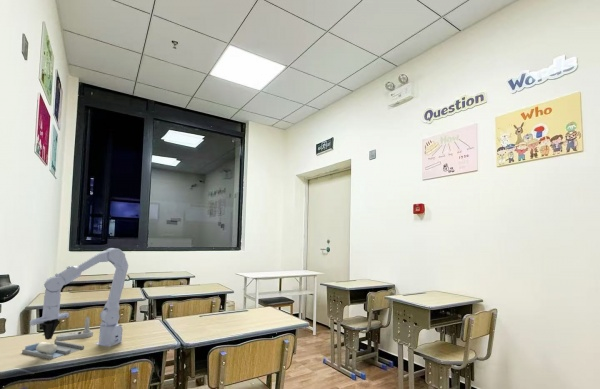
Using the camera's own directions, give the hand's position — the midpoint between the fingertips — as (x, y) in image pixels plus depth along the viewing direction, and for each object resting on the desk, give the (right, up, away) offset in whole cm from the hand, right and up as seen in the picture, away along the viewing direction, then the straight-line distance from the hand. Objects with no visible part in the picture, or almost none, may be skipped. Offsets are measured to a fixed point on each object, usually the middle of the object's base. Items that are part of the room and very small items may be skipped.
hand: (48, 339), depth 139 cm
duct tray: (0, -7, +3) cm, 7 cm away
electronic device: (-4, -10, +22) cm, 24 cm away
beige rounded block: (-1, -6, -1) cm, 6 cm away
